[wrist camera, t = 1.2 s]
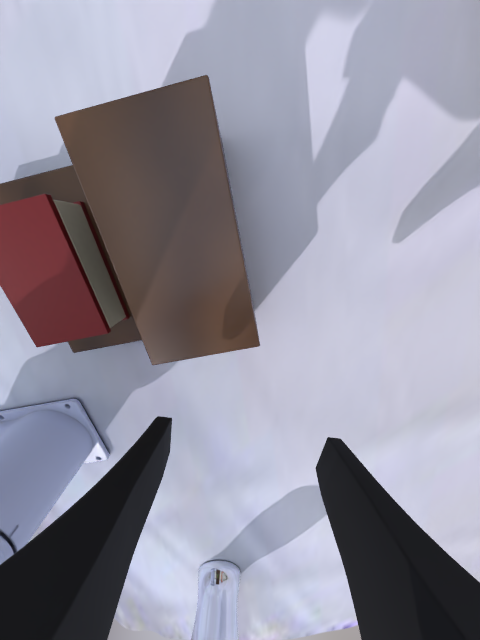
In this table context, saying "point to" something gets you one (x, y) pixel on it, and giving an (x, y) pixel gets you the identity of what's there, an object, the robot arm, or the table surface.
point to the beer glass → (217, 602)
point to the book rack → (158, 219)
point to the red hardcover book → (56, 271)
